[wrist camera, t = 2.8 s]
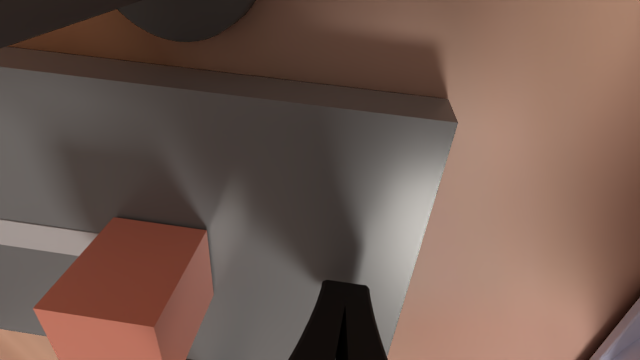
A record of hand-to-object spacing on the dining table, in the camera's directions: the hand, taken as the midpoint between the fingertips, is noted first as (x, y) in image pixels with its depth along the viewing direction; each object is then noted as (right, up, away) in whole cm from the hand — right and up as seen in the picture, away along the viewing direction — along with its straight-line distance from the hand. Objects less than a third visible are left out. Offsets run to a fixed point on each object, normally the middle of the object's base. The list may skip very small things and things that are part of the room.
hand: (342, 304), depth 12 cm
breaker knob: (-6, +1, +1) cm, 6 cm away
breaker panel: (-8, +2, +2) cm, 8 cm away
